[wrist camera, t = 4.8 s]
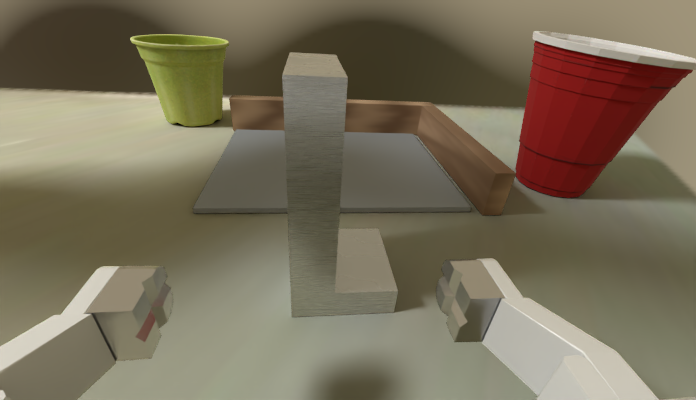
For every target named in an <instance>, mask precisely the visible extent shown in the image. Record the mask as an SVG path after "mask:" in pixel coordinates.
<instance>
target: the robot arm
mask: <svg viewBox="0 0 696 400" xmlns="http://www.w3.org/2000/svg"><path fill="white" fill-rule="evenodd" d="M441 270H442V272H443V274H444V276H443V277H441V278H440V279H439V280H438V283H437V287H436V297H437V301H438V305H439V307H440V310H441V311H442V312H443V313H444V314H446V315H447V316H448V319H447V322H446V324H447V326H448V329H449V331H450V333H451V335H452V338H453V340H454V342H482V344H483V345H484V346H486V347H487V348H488V349H489V350H490V351H491V352H492V353H493V354H494V355H495V356H496V357H497V358H498V359H499V360H500V361H501V362H503V363H504V364H505V365H506V366H507V367H508V368H509V369H510V370H511V371H512V372H513V373H514V374H515V375H516V376H517V377H518V378H520V379H521V380H522V381H523V382H524V383H525V384H526V385H527V386H528V387H529V388H530V389H531V390H532V391H533V392H534V393H535V394H537V395H538V396H537V398H536V399H535V400H659V399H658V398H657V397H656V396H655V395H654V393H653V392H652V391H651V390H650V389H649V388H648V387H647V385H646V384H645V383H644V382H643V381H642V380H641V379H640V377H639V376H638V375H637V374H636V373H635V372H634V371H633V369H632V368H631V367H630V366H629V365H628V364H627V363H626V361H625V360H624V359H623V358H622V357H621V356H620V355H619V353H618V352H617V351H615V350H613V349H612V348H610V347H608V346H607V345H605V344H603V343H602V342H600V341H599V340H597V339H595V338H594V337H592V336H590V335H589V334H587V333H585V332H584V331H582V330H581V329H579V328H577V327H576V326H574V325H572V324H571V323H569V322H567V321H566V320H564V319H563V318H561V317H559V316H558V315H556V314H554V313H553V312H551V311H549V310H548V309H546V308H545V307H543V306H541V305H540V304H538V303H536V302H535V301H533V300H531V299H530V298H524V297H523V296H522V295H521V293H520V292H519V291H518V289H517V288H516V286H515V285H514V284H513V282H512V281H511V280H510V278H509V277H508V276H507V274H506V273H505V271H504V270H503V269H502V267H501V266H500V265H499V263H498V262H497V261H496V260H495V259H493V258H488V259H463V260H445V262H444V263H443V266H442V269H441ZM166 278H167V274H166V271H165V268H164V267H162V266H102V267H100V268H98V269H97V270H96V271H95V272H94V273H93V275H92V276H91V277H90V278H89V280H88V281H87V282H86V283H85V285H84V286H83V287H82V288H81V290H80V291H79V292H78V293H77V295H76V296H75V297H74V299H73V300H72V301H71V302H70V304H69V305H68V306H67V307H66V309H65V310H64V311H63V312H62V314H61V315H53V316H51V317H50V318H48V319H46V320H45V321H43V322H41V323H40V324H38V325H36V326H34V327H33V328H31V329H29V330H28V331H26V332H24V333H23V334H21V335H19V336H17V337H16V338H14V339H12V340H11V341H9V342H7V343H5V344H4V345H2V346H0V400H77V399H78V398H79V397H80V396H81V395H82V394H83V393H85V392H86V391H87V390H88V389H89V388H90V387H91V386H92V385H93V384H94V383H95V382H96V381H97V380H99V379H100V378H101V377H102V376H103V375H104V374H105V373H106V372H107V371H108V370H109V369H110V368H111V367H112V366H114V365H115V364H116V361H125V360H137V359H150V358H152V356H153V354H154V351H155V349H156V347H157V345H158V342H159V340H160V338H161V333H160V330H159V328H160V327H162V326H163V325H164V324H165V323H167V322H168V319H169V317H170V315H171V311H172V306H173V294H172V290H171V288H170V287H169V286H168V285H166V284H165V283H164V282H165V280H166ZM660 400H696V397H684V398H672V399H660Z"/></svg>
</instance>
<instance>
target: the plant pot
mask: <svg viewBox="0 0 696 400" xmlns="http://www.w3.org/2000/svg"><path fill="white" fill-rule="evenodd" d="M130 39H131V42H132V43H133V44H136V46H137V49H138V51H139V53H140V56H141V58H142V59H143V60H144V61H145V63H146V66H147V68H148V71H149V74H150V76H151V79H152V82H153V84H154V87H155V90H156V92H157V95H158V98H159V100H160V103H161V106H162V109H163V112H164V114H165V117H166V120H167V121H168V122H169V123H172V124H175V123H180V124H182V125H183V126H201V125H204V126H205V125H209V124H212V123H214V121H216V120H221V119H222V88H223V87H222V85H223V84H222V83H223V61H224V59H225V51H226V47H227V46H229V42H228V41H227V40H224V39H220V38H213V37H204V36H192V35H174V34H165V35H164V34H160V35H159V34H158V35H141V36H134V37H131V38H130Z"/></svg>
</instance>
